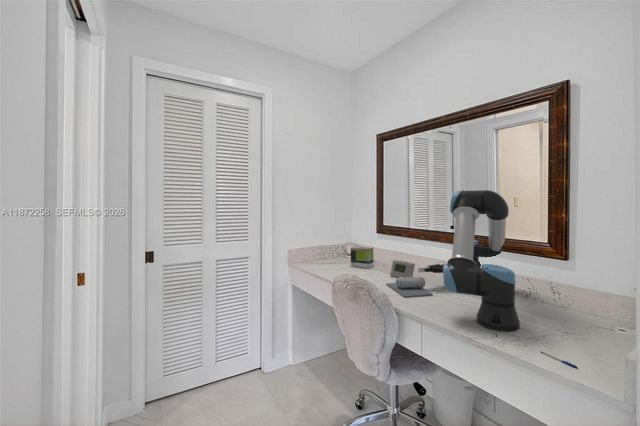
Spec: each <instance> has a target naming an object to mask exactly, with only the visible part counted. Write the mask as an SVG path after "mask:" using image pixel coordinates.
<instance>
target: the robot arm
mask: <svg viewBox="0 0 640 426" xmlns="http://www.w3.org/2000/svg"><path fill="white" fill-rule="evenodd" d="M451 195H452V196H451V198H450V204H449V206H450V207H449V211H450V213H451V214H452V216H453V217H454V218H455V222H454V223H455V224H454V232H453V233H454V235H453V242H452V251H451V252H452V253H451V257H450V258H449V259H448V260H447V263H445V264H444V263H443V264H440V263H436V264H431V265H427V266H418V267H417V273H434V274H442V277H443V278H442V279H443V284H444V289H445V290H446V291H447V292H449V293H455V294H461V295H462V294H463V295H468V296H469V295H470V296H476V297H481V301H480V302H481V303H480V306H479V309H478V311H477V313H476V322H477V324H479V325H481V326H483V327H485V328H487V329H491V330H494V331H501V332H516V331H518V330H520V328H521V326H520V325H521V324H520V323H521V321H520V319H519V315H518V313H517V310H516V306H515V305H516V284H517V282H516V274H515V272H514V271H513V269H510V268H508V267H505V266H501V265H496V264H491V263H490V264H489V263H483V264H482V266H481V264H480V262H479V260H480V259H479V258H487V257H492V256H496V255H498V254H500V253H501V251H500V249H501V247H502V246H503V244H504V242H505V243H506V227H507V226H506V224H507V218H508V216H509V215H510V214H509V212H510V211H509V206H508V202H506V200H505V199H504V197H503V196H501V195H500V194H499V193H497V192H496V191H493V190H488V189H485V190H484V189H483V190H456V191H454V192H453V194H451ZM480 215H486V217H487V218H488V221H487V222H488V244H489V249H488V248H486V247H484V246H482V245H479V244H480V242H479V243H478V241H479V240H477V239H475V234H476V220H478V219H479V218H480ZM476 240H477V241H476ZM480 267H482V268H480Z"/></svg>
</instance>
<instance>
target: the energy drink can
mask: <svg viewBox="0 0 640 426" xmlns="http://www.w3.org/2000/svg"><path fill="white" fill-rule="evenodd" d="M395 283H396V285H397V287H399V288H423V289H424V288H425V286H426V280H425V278H424V277H422V276H413V277H400V278H396V280H395Z"/></svg>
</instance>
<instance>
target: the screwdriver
mask: <svg viewBox="0 0 640 426" xmlns="http://www.w3.org/2000/svg"><path fill="white" fill-rule="evenodd" d="M539 352H540V353H541V354H542V355H545V356H546V357H549V358H552V359H553V360H556V361H559V362H560V363H562V364H565V365H566V366H569V367H571V368H573V369H577V370H578V366H577V365H575V364H573V363H571V362H569V361H567V360H562V359H560V358H557V357H555V356H554V355H552V354H550V353H549V354H548V353H546V352H544V351H539Z"/></svg>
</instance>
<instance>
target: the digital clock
mask: <svg viewBox="0 0 640 426" xmlns="http://www.w3.org/2000/svg"><path fill="white" fill-rule="evenodd" d="M415 266H416V265H415V263H414V262H411V261H404V260H399V259H398V260H397V259H393V260H392V264H391V270H390V273H389V274H390V277H394V278H396V279H398V278H400V277H414V270H415Z"/></svg>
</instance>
